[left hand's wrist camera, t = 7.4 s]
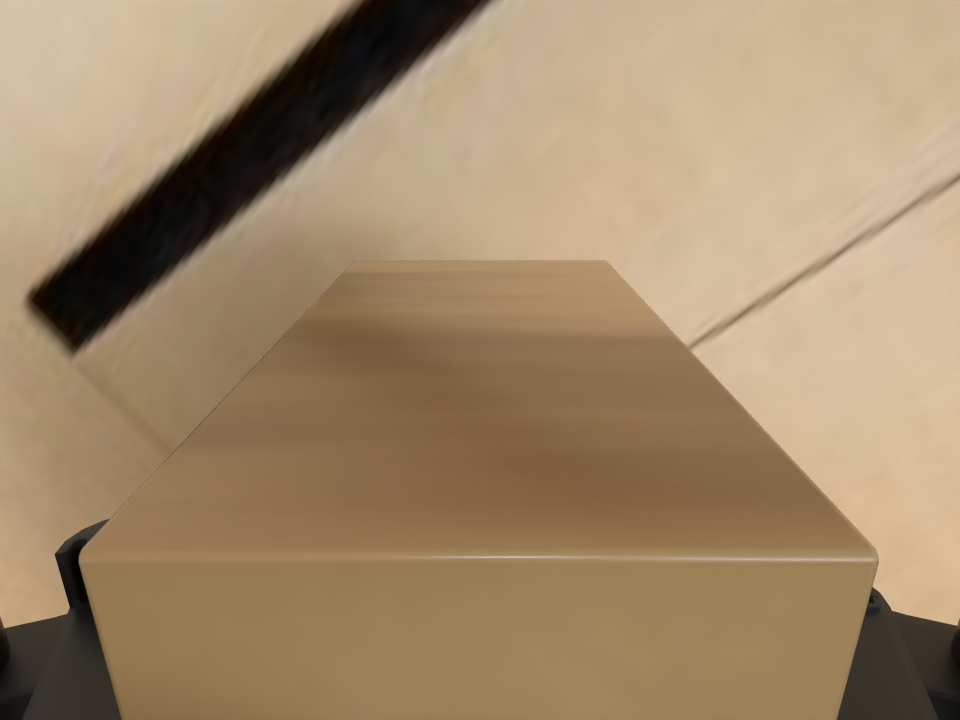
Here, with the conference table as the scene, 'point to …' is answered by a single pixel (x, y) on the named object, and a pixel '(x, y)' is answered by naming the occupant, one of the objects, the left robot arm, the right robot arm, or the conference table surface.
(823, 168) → the conference table surface
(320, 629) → the box
